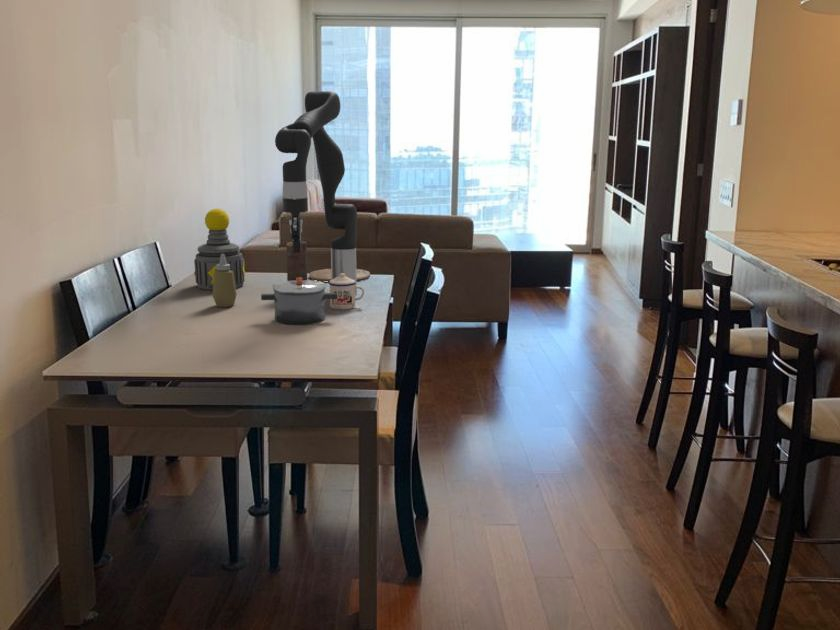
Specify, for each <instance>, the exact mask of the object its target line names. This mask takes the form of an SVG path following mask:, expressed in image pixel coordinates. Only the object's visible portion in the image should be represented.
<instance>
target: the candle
mask: <svg viewBox="0 0 840 630" xmlns="http://www.w3.org/2000/svg"><path fill="white" fill-rule="evenodd" d="M307 246H308V245H307V241H304V240H301V252H300V253H294V252H293V241H290V242H288V241H287V243H286V270H287V271H286V274H287V275H286V276H287V279H286V281H294V280H296V278H298V277H301V278H302V280H308V266H307V265H308V257H307V256H308V255H307V254H308V253H307V252H308V251H307Z"/></svg>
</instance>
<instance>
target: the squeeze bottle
mask: <svg viewBox="0 0 840 630" xmlns="http://www.w3.org/2000/svg"><path fill="white" fill-rule="evenodd" d="M216 270H217V271H215V272H214V280H213V290H212V298H213V300H214V303H215V306H217V307H220V308H228V307H232V306H234V305H235V302H236V298H237V288H236V287H235V280H234V274H233V271H231V270H230V264H227V262H226V258H225V255H224V254H221V256H220V262H219V264H217V265H216Z"/></svg>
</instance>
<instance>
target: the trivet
mask: <svg viewBox="0 0 840 630" xmlns="http://www.w3.org/2000/svg"><path fill="white" fill-rule="evenodd" d="M356 273H357V282H361V281H360V280H363V281H366V280H368V279H369V277H370V278H371V272H370V271H368V270H366V269H359V268H356ZM308 275H309V277H308V278H309V279H310V278H311V279H313V280H312V281H314V280H317V281H328V282H330V280H332V275H331V268H324V269H317V270H313V271H311V272H309V274H308ZM311 279H310V280H311ZM365 279H366V280H365ZM328 282H327V283H328Z"/></svg>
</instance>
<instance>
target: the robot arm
mask: <svg viewBox="0 0 840 630" xmlns="http://www.w3.org/2000/svg"><path fill="white" fill-rule="evenodd" d="M304 109H305V113H303V114H301V115H299V117H298V118H297V119H296V120H295V121H294V122H293V123H290V124H288V125H286V126H284V127H282V128H281V129H279V130H278V132H277V133H276V135H275V139H274V143H275V147H276V149H277V151H279V152H280V153H283V154H296V157H295V159H293V160H290V161H285V162H284V163H283V164H282V207H283V208H282V209H283V210H282V211H283V212H284V213H288V214H289V213H290V214H291V217H289V218H288V219H289V221H288V223H289V228H290V234H291V239H292V242H293V252H294V253H300V252H301V241H302V237H303V236H302V232H303V222H304V221H303V220H304V218H303V216H302V217H301V214H302V213H306V212H308V211H309V206H308V205H309V204H308V203H309V201H308V200H309V198H308V197H309V196H308V195H309V194H308V184H307V163H308V158H309V152H310V150H311V145H312V140H313V146H314V152H315V153H314V154H315V159H316V164H317V171H318V174H319V180H320V184H321V185H320V186H321V190H322V196H323V197H322V198H323V205H324V206H323V207H324V217H325V221H326V224H327V227H328V228H329V229H332V230H344V234H343V235H342V236H339V237H337V238H334V239H332V240H331V241H330V264H331V265H330V267H331V268H330V269H331V275H332V280H333V279H335V278H336V277H339V274H341V273H344V274H345V276H346V277H348V278H350V279H353V280H355V282H356V283H355V286H358V285H357V283H358V281H357V273H356V269H357V240H358V239H357V235H358V234H357V228H358V227H357V226H358V211H357V207H356V206H355V204H351V203H337V202H336V192H337V189H338V188H339V185H340V183H341V182H342V180H343V178H344V175H345V172H346V167H345V162H344V161H345V160H344V156H343V152H342V149H341V148H340V147H339V145H338V144H337V143H336V142H335V141H334V140H333V138H332V137H331V136H330V135H329V133H327V131H326V129H325V127H324V126H326V125H328V124H329V123H330V122H333V120H336V119H337V118H338V116H339V115H340V112H341V100H340V96H339V94H338V93H337V92H335V91H330V90H325V91H324V90H323V91H321V90H320V91H316V90H314V91H308V92H307V93H306V94H305V97H304ZM357 292H358V288H355V295H357Z"/></svg>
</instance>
